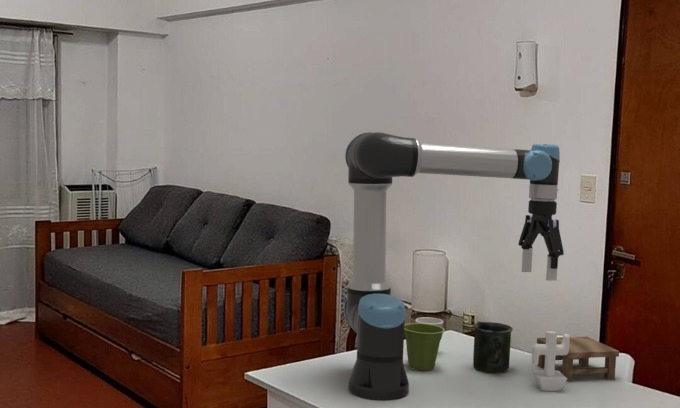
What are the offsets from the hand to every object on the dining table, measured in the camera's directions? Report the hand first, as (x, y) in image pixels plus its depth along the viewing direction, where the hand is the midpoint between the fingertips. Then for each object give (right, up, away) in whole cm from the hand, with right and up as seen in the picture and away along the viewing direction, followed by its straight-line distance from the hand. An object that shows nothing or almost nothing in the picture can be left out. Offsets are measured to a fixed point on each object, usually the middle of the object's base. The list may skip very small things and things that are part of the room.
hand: (538, 276), depth 211 cm
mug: (-13, -27, +1) cm, 29 cm away
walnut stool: (+11, -27, +2) cm, 29 cm away
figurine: (-1, -28, -13) cm, 31 cm away
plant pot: (-32, -26, +2) cm, 41 cm away
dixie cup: (-29, -25, +17) cm, 42 cm away
